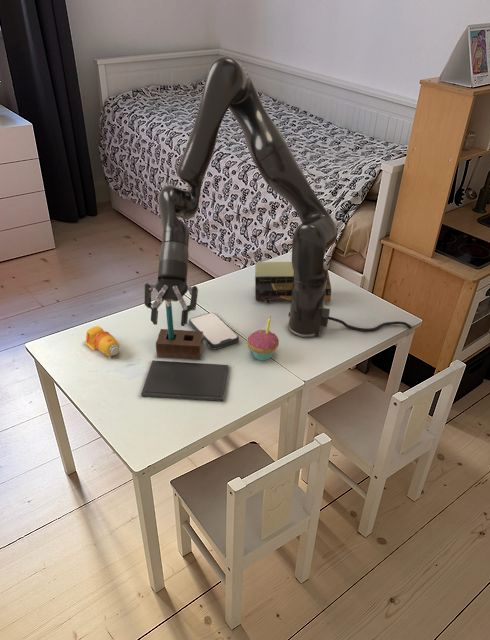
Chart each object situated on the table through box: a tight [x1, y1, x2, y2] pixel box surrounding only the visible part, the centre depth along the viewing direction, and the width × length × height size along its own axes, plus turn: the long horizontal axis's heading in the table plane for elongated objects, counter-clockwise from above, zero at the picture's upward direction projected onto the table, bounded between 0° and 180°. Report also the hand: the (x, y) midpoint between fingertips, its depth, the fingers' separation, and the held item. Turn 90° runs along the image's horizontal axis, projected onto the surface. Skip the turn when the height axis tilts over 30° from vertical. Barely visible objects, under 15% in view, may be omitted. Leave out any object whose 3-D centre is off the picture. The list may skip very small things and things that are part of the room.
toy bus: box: [254, 261, 332, 304], centre depth 168 cm, size 10×23×10 cm, turn 89°
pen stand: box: [155, 328, 204, 361], centre depth 146 cm, size 12×7×4 cm, turn 87°
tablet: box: [140, 360, 229, 402], centre depth 137 cm, size 20×14×1 cm
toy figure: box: [85, 325, 120, 357], centre depth 145 cm, size 5×6×12 cm
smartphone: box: [188, 312, 240, 350], centre depth 154 cm, size 9×2×16 cm
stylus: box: [164, 300, 175, 340], centre depth 142 cm, size 2×2×16 cm
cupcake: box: [246, 315, 280, 361], centre depth 143 cm, size 9×8×12 cm
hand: (168, 324), depth 140 cm, fingers open, 6 cm apart
